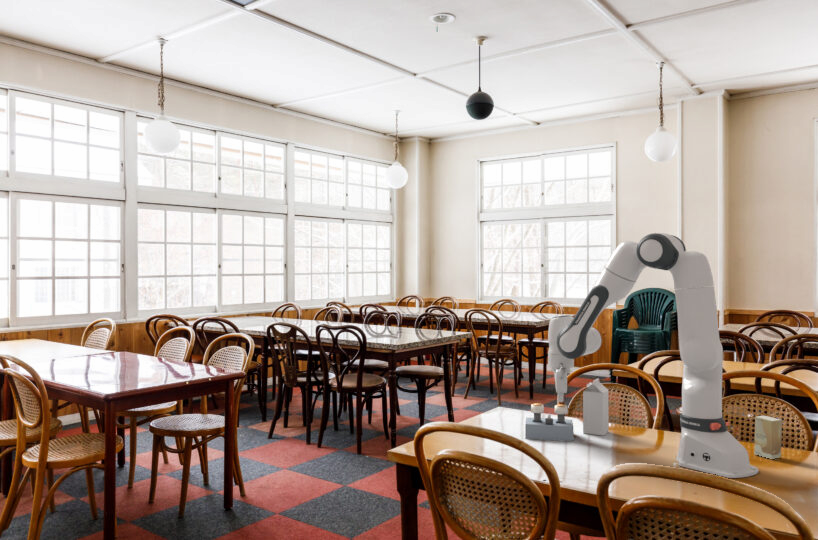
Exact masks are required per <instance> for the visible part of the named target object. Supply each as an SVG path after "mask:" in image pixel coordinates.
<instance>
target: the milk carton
mask: <svg viewBox="0 0 818 540" xmlns="http://www.w3.org/2000/svg"><path fill="white" fill-rule="evenodd" d="M586 387H587V388H586V389H585V390H583V391H582V397H583V398H582V405H583V406H582V420H583V421H582V428H583V429H582V433H583V434H586V435H595V436H596V435H597V436H602V437H603V436H605V435H606V434H607V433H609V389H608V388H607V387H606V386H604V385H603V383H601V382H600V378H599V377H598V378H595V379H594V380H593V381H592V382H591V381H590V382H588V383H587V384H586Z"/></svg>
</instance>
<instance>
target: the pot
mask: <svg viewBox="0 0 818 540" xmlns="http://www.w3.org/2000/svg"><path fill="white" fill-rule="evenodd" d="M551 416H552V414H551V413H548V414H547V417H544V418H545V424H546V425H553V419H554V418H551Z"/></svg>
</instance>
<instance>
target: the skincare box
mask: <svg viewBox="0 0 818 540" xmlns="http://www.w3.org/2000/svg"><path fill="white" fill-rule="evenodd" d="M754 420H755V422H754V455H755V456H757V455H759V457H761V456H762V458H764V457H766V458H765V459H767V458H770V459H775V458H779V457H781V458H782V435H783V433H782V431H783V427H782V426H783V420H782V419H780V418H775V417H772V416H767V415H758V416H755V419H754ZM770 459H769V460H770ZM775 460H776V459H775Z"/></svg>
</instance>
